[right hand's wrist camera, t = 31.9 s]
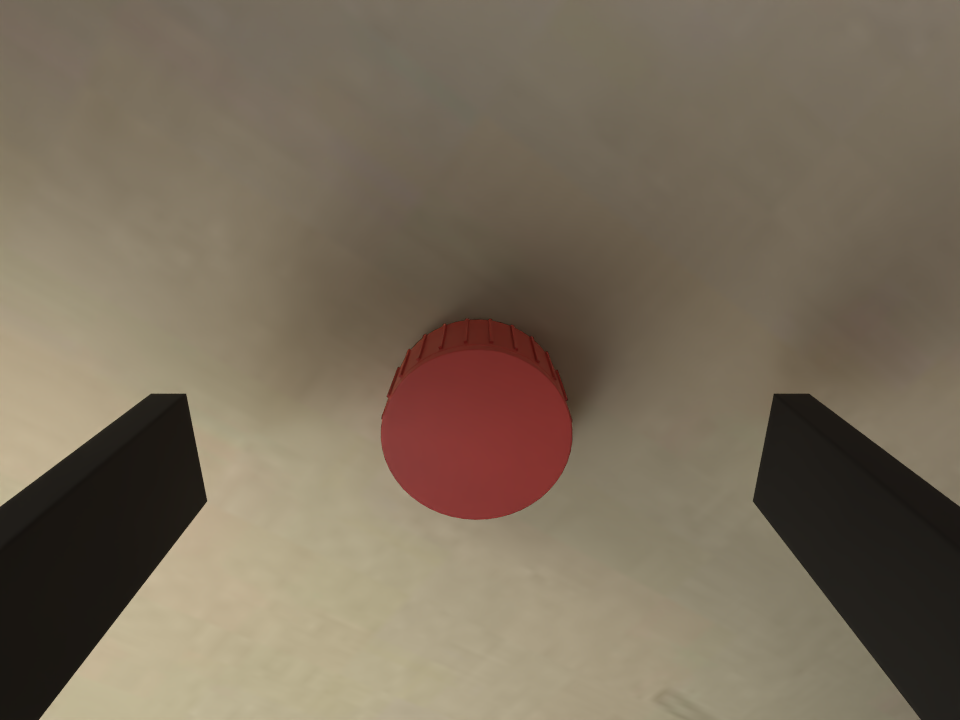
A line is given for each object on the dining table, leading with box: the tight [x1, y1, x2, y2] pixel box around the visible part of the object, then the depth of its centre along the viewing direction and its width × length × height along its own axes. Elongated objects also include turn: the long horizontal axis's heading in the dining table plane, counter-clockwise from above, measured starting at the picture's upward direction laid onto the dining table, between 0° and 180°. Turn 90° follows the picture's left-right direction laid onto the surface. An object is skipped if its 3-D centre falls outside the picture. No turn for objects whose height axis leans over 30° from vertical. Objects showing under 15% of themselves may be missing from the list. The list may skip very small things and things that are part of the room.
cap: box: [381, 318, 572, 520], centre depth 14 cm, size 5×5×2 cm
